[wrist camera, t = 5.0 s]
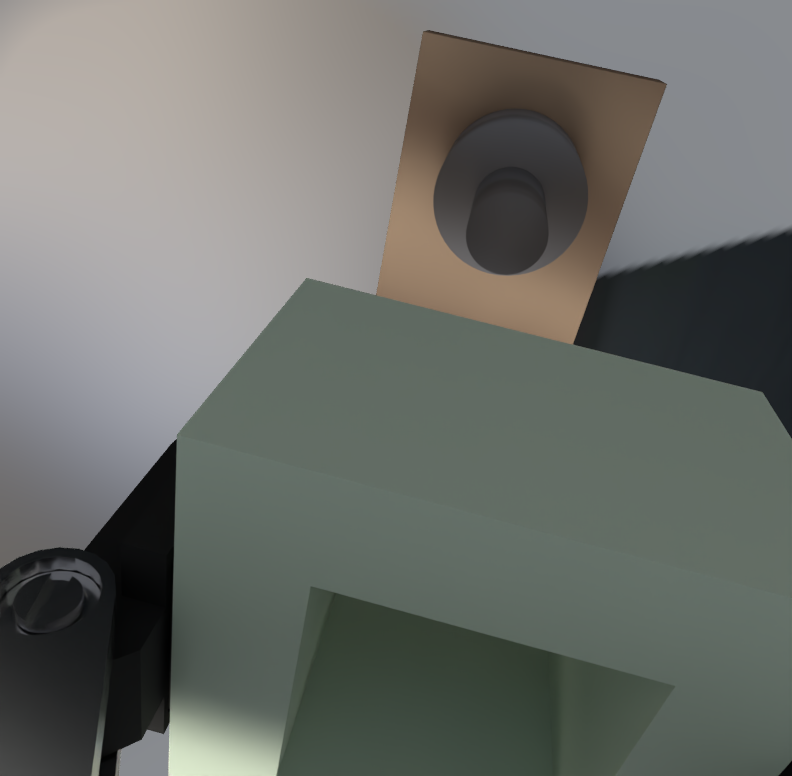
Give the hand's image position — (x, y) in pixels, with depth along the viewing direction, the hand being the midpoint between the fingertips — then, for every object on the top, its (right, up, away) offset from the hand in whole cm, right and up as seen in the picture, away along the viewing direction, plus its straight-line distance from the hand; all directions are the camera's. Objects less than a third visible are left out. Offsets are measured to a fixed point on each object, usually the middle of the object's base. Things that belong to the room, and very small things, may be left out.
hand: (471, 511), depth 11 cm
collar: (0, 0, 0) cm, 0 cm away
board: (+2, +4, +18) cm, 18 cm away
